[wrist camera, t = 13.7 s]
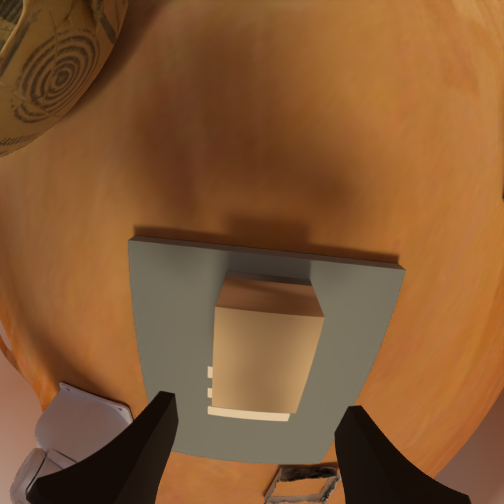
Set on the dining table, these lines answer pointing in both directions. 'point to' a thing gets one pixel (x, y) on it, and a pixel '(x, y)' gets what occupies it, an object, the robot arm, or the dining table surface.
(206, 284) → the slate board
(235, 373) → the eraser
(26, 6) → the ceramic bowl
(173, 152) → the dining table surface
